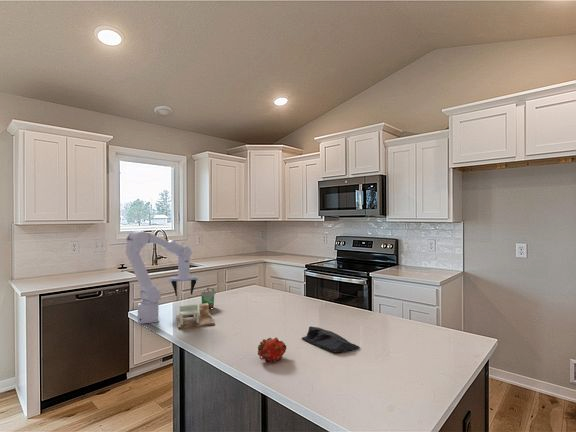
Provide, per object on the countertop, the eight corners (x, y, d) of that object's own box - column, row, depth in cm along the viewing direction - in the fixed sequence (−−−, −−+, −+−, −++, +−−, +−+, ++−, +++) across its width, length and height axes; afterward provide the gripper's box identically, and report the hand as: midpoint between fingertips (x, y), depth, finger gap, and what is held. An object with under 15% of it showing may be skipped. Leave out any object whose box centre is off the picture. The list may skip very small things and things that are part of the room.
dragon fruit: (254, 368, 112) (283, 364, 119) (266, 360, 107) (295, 357, 114) (250, 343, 117) (278, 341, 124) (261, 334, 112) (290, 332, 119)
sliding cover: (180, 325, 149) (180, 309, 149) (179, 320, 155) (179, 306, 155) (198, 323, 152) (198, 308, 152) (197, 318, 158) (197, 304, 158)
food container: (212, 311, 175) (212, 292, 175) (201, 311, 175) (201, 292, 175) (218, 305, 188) (218, 287, 188) (207, 305, 188) (207, 287, 188)
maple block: (200, 315, 163) (200, 305, 163) (199, 313, 167) (199, 303, 167) (208, 315, 165) (208, 305, 165) (207, 312, 168) (207, 303, 168)
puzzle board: (178, 329, 147) (178, 326, 147) (176, 316, 166) (176, 314, 166) (214, 325, 153) (214, 322, 153) (208, 313, 171) (208, 311, 172)
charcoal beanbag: (331, 358, 118) (331, 345, 118) (298, 339, 137) (298, 327, 137) (363, 350, 125) (363, 337, 125) (328, 332, 144) (328, 321, 144)
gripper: (197, 267, 179) (197, 292, 179) (169, 268, 174) (169, 294, 174) (198, 269, 173) (198, 294, 173) (169, 270, 167) (169, 297, 167)
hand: (183, 294), depth 173 cm, fingers open, 7 cm apart
